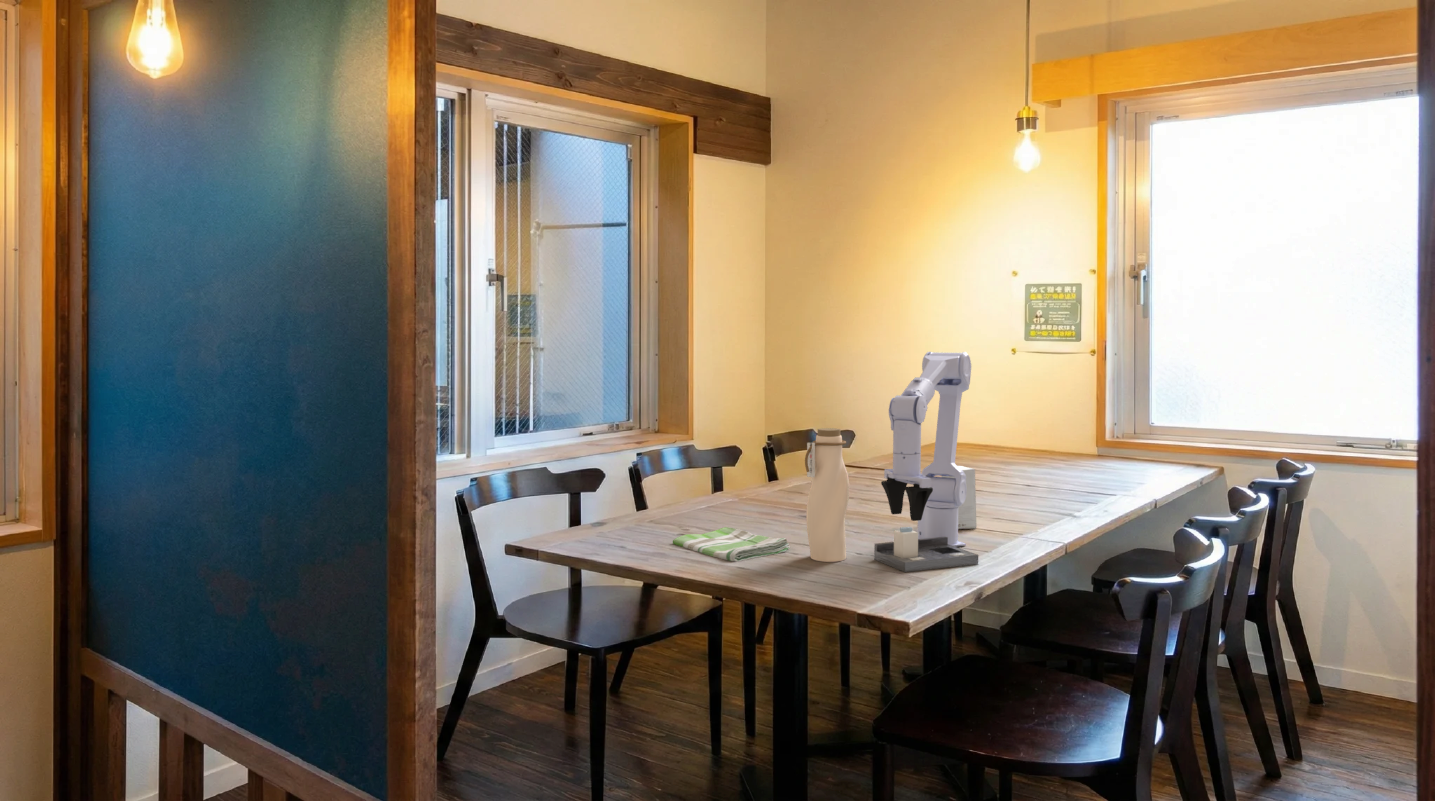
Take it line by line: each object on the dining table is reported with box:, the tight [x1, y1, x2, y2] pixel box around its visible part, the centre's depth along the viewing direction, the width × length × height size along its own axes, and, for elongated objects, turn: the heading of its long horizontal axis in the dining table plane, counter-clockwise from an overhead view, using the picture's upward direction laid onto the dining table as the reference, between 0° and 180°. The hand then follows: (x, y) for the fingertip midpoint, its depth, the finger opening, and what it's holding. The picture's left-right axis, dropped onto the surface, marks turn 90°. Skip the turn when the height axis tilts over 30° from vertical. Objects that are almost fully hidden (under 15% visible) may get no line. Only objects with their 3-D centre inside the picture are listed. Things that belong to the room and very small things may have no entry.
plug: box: [893, 526, 918, 558], centre depth 210 cm, size 4×4×8 cm
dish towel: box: [672, 526, 791, 563], centre depth 226 cm, size 17×23×4 cm
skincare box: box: [941, 465, 977, 530], centre depth 249 cm, size 8×6×15 cm
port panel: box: [873, 537, 979, 573], centre depth 212 cm, size 12×18×4 cm, turn 112°
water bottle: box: [804, 427, 850, 563], centre depth 215 cm, size 10×9×28 cm
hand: (906, 517), depth 209 cm, fingers open, 7 cm apart
